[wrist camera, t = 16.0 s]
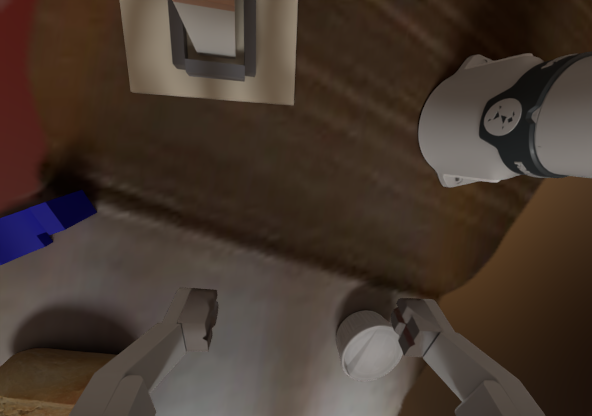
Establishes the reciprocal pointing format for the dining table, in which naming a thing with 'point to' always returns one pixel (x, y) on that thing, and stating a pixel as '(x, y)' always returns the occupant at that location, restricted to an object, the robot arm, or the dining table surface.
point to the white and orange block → (209, 26)
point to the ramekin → (367, 346)
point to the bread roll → (46, 381)
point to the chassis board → (205, 69)
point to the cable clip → (41, 224)
